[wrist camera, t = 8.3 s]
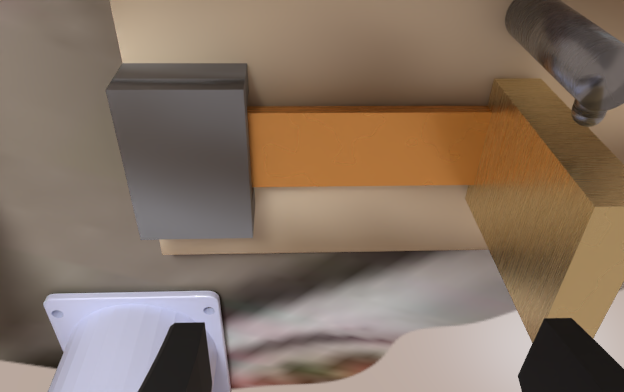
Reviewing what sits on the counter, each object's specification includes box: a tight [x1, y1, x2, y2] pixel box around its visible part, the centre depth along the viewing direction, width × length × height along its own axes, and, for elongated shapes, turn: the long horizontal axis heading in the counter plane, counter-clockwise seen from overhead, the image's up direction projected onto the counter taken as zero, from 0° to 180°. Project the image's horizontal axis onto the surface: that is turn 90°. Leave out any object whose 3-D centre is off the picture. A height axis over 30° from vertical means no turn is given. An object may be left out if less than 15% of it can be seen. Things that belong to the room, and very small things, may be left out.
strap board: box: [106, 0, 624, 255], centre depth 19 cm, size 11×20×3 cm, turn 89°
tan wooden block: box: [247, 78, 624, 343], centre depth 16 cm, size 5×11×7 cm, turn 89°
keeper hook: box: [505, 0, 624, 127], centre depth 15 cm, size 2×2×5 cm
